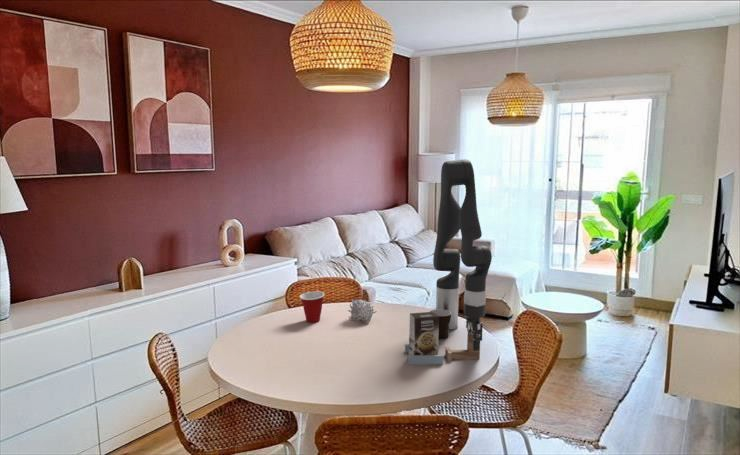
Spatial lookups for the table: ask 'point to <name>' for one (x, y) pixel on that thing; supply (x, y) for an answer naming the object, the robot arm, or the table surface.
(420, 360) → the acrylic channel
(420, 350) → the coffee box
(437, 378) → the table surface
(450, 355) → the wooden t-shaped piece
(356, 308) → the sea urchin
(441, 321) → the coffee mug
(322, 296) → the plastic cup
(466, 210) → the robot arm
